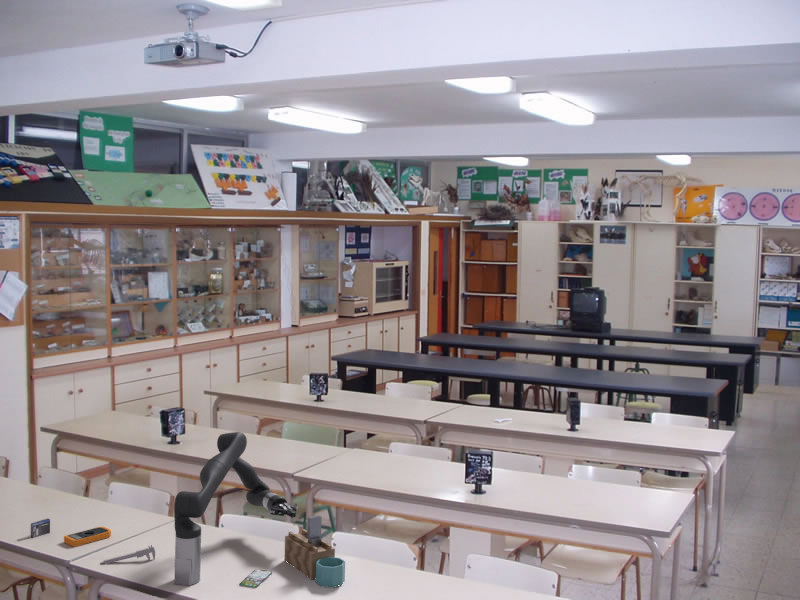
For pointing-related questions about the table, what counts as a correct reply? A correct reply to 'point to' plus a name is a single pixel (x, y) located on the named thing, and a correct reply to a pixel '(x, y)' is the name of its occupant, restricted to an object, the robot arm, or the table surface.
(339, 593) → the table surface
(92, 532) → the multimeter
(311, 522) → the gray rectangular block
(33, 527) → the mini dv tape
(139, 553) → the caliper
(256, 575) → the smartphone
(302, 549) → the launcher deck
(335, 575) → the cup
